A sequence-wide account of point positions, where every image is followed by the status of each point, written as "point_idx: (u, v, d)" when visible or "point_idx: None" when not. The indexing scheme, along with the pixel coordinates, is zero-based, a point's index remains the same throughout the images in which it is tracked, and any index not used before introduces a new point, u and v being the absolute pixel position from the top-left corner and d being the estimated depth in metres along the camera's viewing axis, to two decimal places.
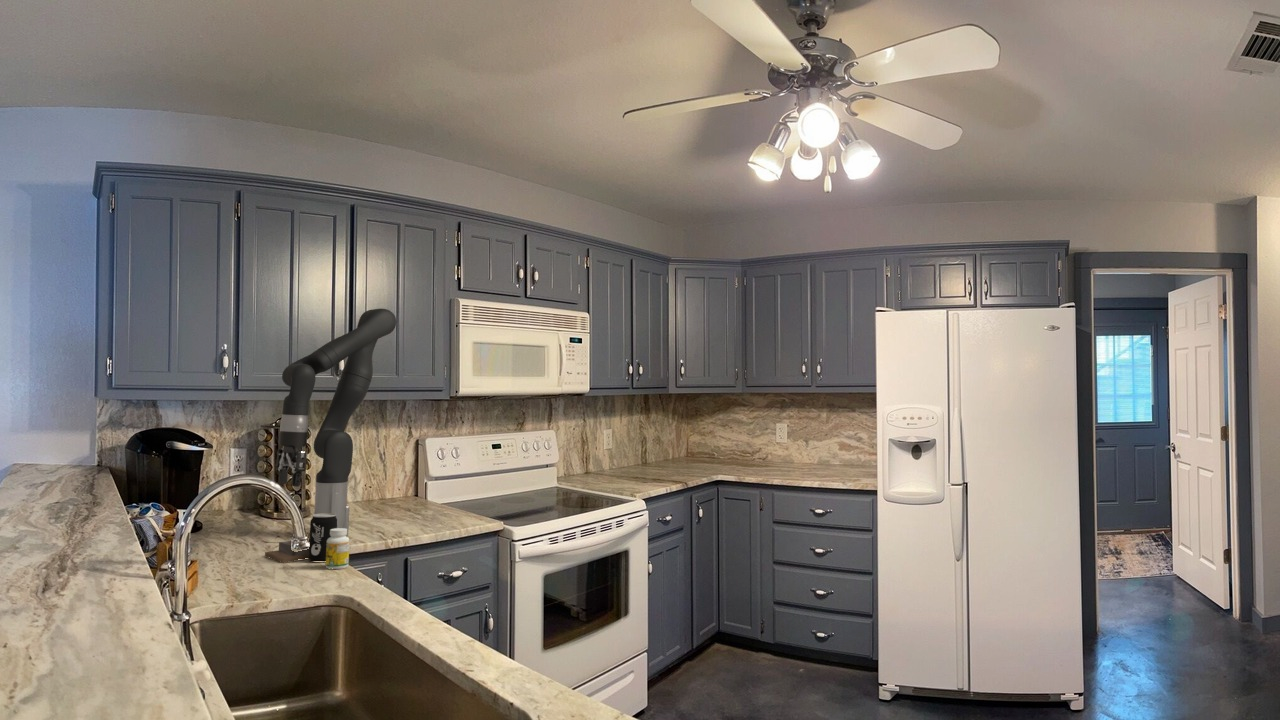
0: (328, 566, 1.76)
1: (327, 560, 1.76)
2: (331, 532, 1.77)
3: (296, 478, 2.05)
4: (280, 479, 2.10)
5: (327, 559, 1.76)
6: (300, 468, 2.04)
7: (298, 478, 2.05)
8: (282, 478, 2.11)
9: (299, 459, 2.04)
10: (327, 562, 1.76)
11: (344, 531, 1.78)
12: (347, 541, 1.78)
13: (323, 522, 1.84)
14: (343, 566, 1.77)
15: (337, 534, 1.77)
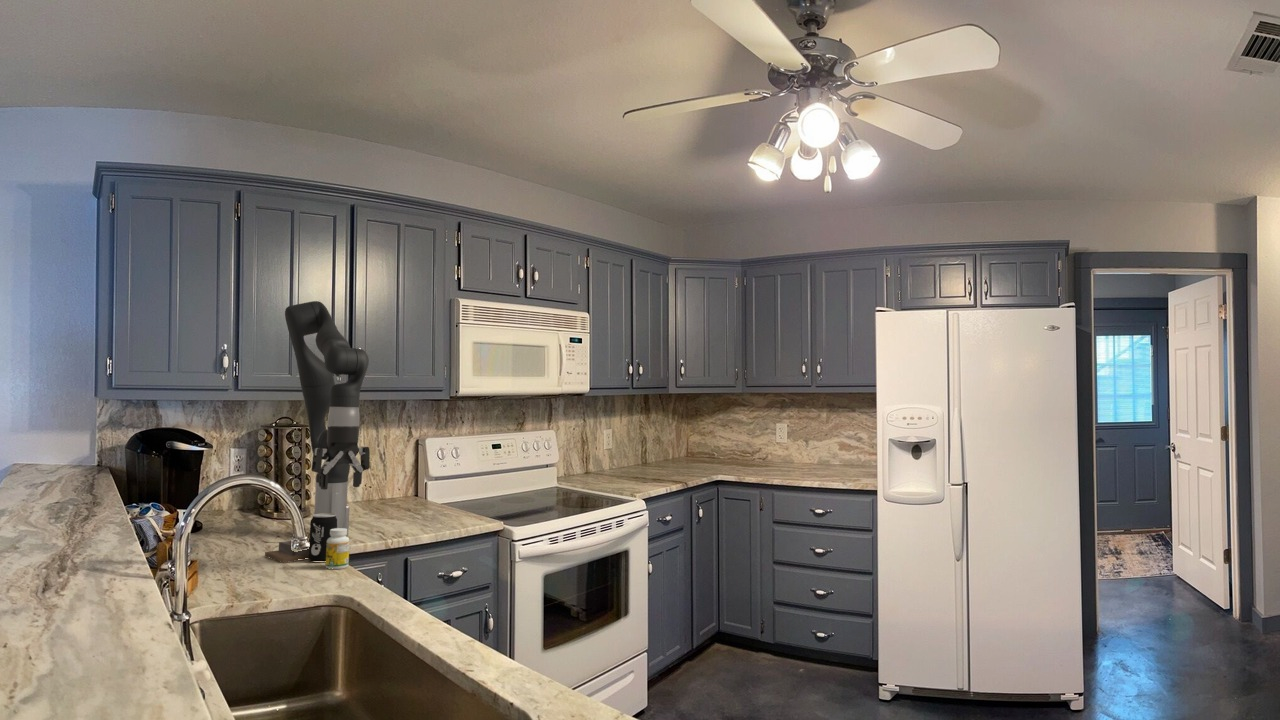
0: (328, 566, 1.76)
1: (327, 560, 1.76)
2: (331, 532, 1.77)
3: None
4: (327, 484, 1.76)
5: (327, 559, 1.76)
6: None
7: None
8: None
9: None
10: (327, 562, 1.76)
11: (344, 531, 1.78)
12: (347, 541, 1.78)
13: (323, 522, 1.84)
14: (343, 566, 1.77)
15: (337, 534, 1.77)
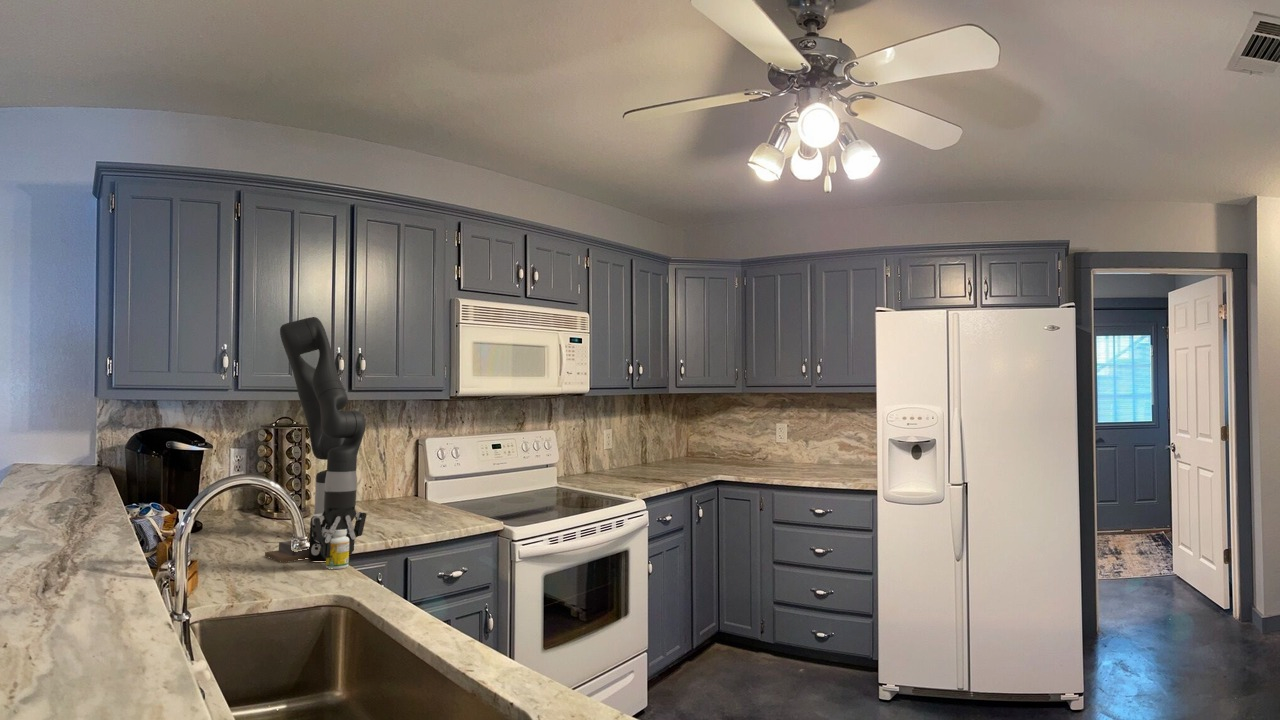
0: (328, 566, 1.76)
1: (327, 560, 1.76)
2: None
3: None
4: (329, 552, 1.76)
5: (327, 559, 1.76)
6: None
7: None
8: None
9: None
10: (327, 562, 1.76)
11: (344, 531, 1.78)
12: (347, 541, 1.78)
13: (323, 522, 1.84)
14: (343, 566, 1.77)
15: (337, 534, 1.77)
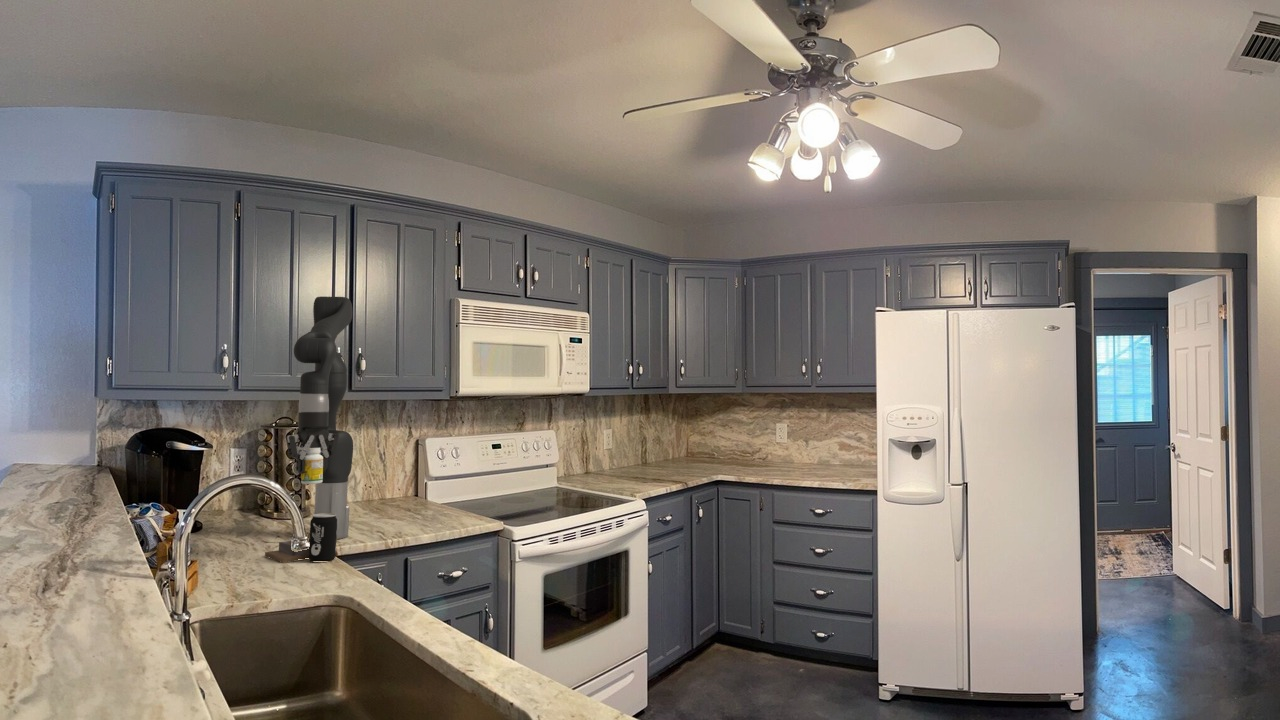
0: (303, 481, 1.89)
1: (302, 475, 1.90)
2: None
3: None
4: None
5: (302, 474, 1.90)
6: None
7: None
8: None
9: None
10: (303, 477, 1.89)
11: (318, 449, 1.91)
12: (321, 458, 1.92)
13: (323, 522, 1.84)
14: (317, 481, 1.90)
15: (312, 451, 1.90)
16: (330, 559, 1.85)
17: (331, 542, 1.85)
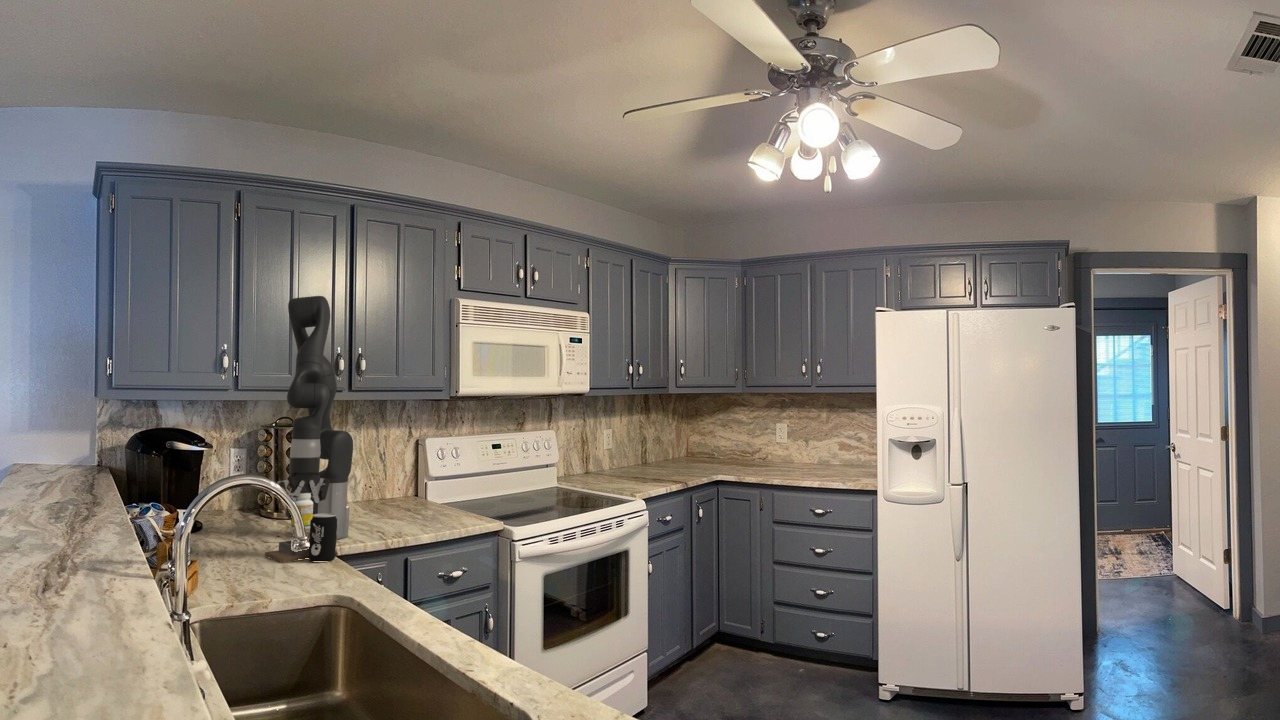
0: (292, 527, 1.89)
1: (292, 521, 1.90)
2: None
3: None
4: None
5: None
6: None
7: None
8: None
9: None
10: (292, 523, 1.89)
11: (308, 494, 1.92)
12: (311, 504, 1.92)
13: (323, 522, 1.84)
14: (307, 527, 1.90)
15: (301, 497, 1.90)
16: (330, 559, 1.85)
17: (331, 542, 1.85)
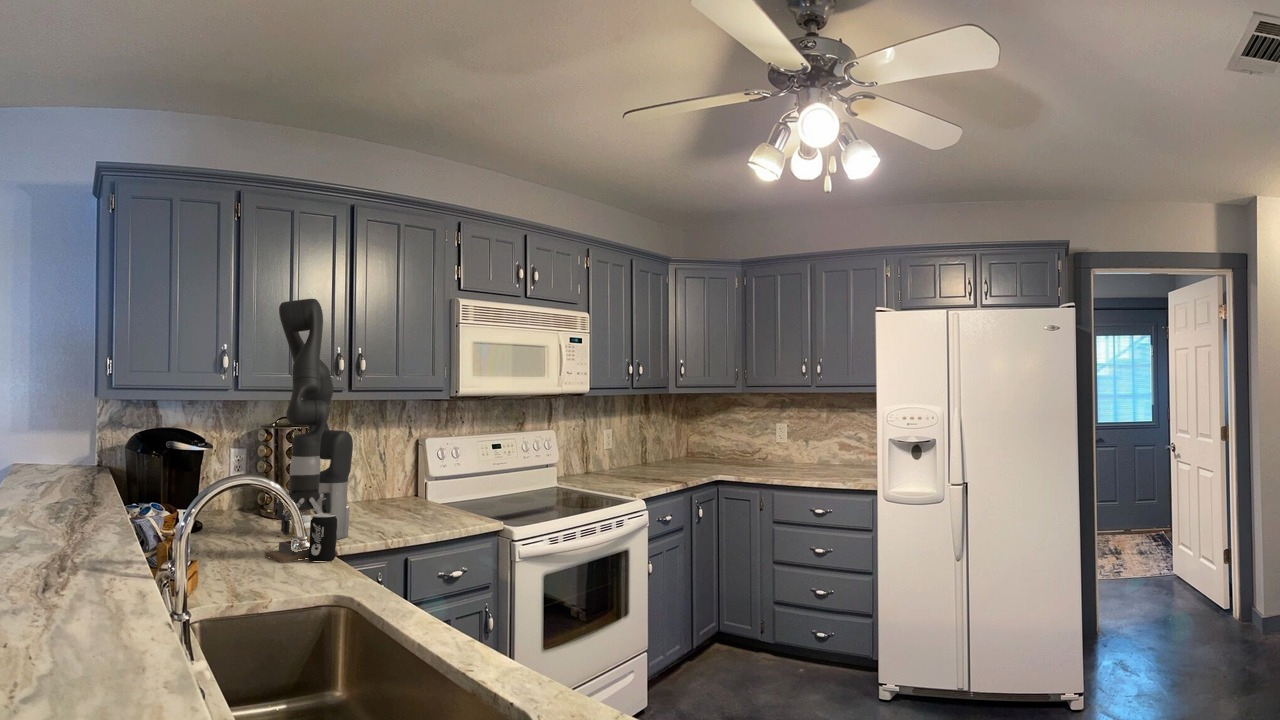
0: None
1: None
2: None
3: None
4: (288, 529, 1.88)
5: None
6: None
7: None
8: None
9: None
10: None
11: (308, 517, 1.91)
12: None
13: (323, 522, 1.84)
14: None
15: None
16: (330, 559, 1.85)
17: (331, 542, 1.85)
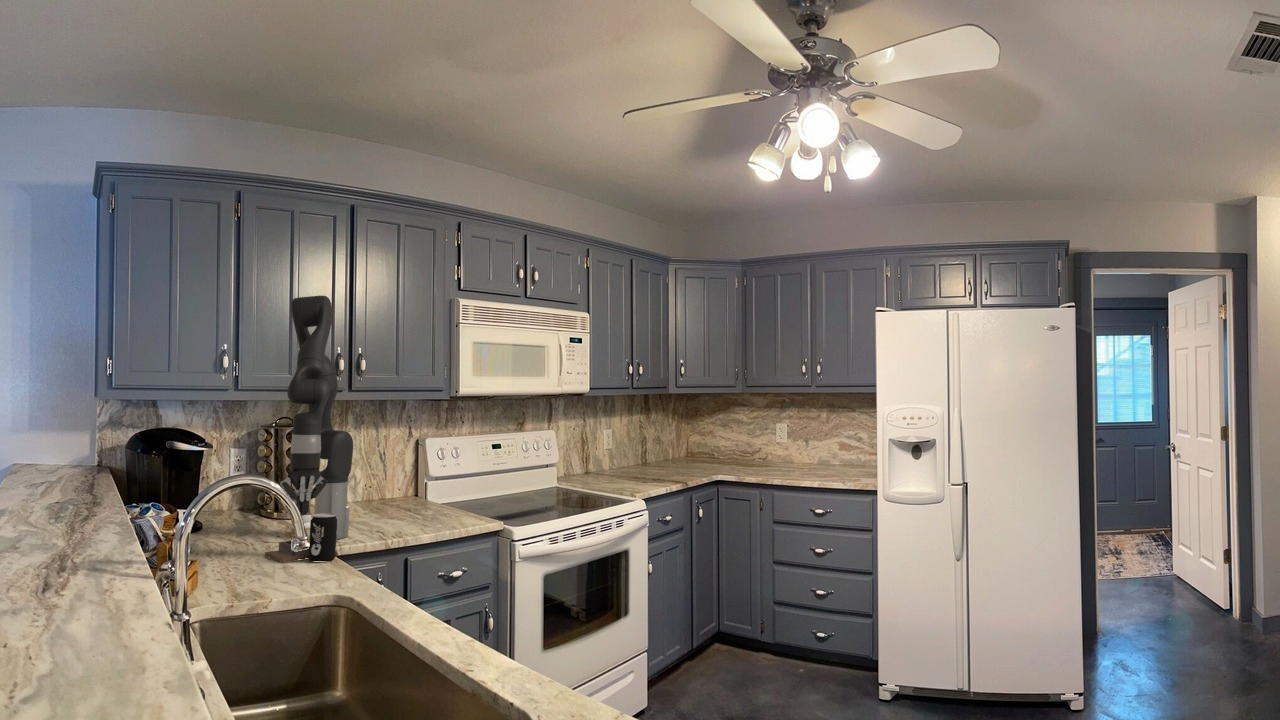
0: None
1: None
2: None
3: None
4: (303, 510, 1.91)
5: None
6: None
7: None
8: None
9: None
10: None
11: (308, 517, 1.91)
12: None
13: (323, 522, 1.84)
14: None
15: None
16: (330, 559, 1.85)
17: (331, 542, 1.85)
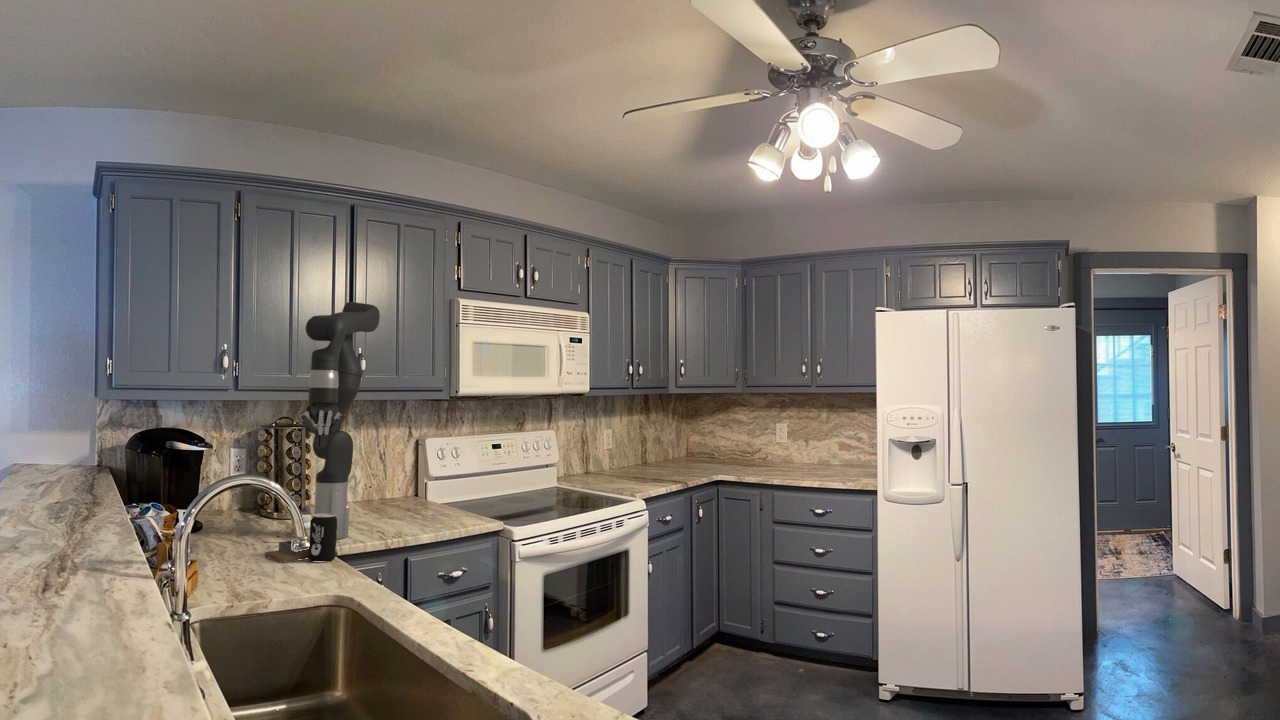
0: None
1: None
2: None
3: None
4: (322, 443, 1.96)
5: None
6: None
7: None
8: None
9: None
10: None
11: (308, 517, 1.91)
12: None
13: (323, 522, 1.84)
14: None
15: None
16: (330, 559, 1.85)
17: (331, 542, 1.85)
